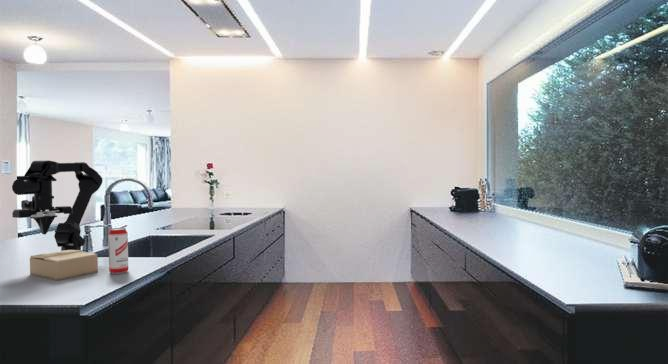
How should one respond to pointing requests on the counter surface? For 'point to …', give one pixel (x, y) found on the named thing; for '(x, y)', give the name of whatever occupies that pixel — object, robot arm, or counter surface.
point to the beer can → (118, 250)
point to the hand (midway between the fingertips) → (44, 234)
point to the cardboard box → (63, 267)
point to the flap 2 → (70, 256)
